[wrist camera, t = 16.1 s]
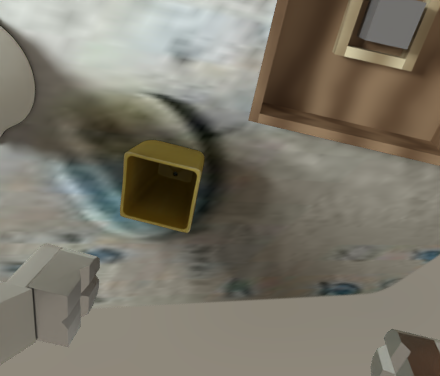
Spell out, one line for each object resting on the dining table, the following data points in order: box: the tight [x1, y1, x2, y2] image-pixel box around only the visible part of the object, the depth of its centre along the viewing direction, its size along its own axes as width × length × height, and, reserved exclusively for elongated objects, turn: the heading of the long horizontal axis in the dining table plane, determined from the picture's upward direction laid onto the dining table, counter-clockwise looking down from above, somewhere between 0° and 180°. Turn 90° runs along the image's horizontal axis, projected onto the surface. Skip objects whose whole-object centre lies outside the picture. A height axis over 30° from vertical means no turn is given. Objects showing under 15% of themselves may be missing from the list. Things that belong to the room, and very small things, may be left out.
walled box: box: [249, 0, 440, 166], centre depth 35 cm, size 22×24×6 cm
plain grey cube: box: [357, 0, 426, 49], centre depth 35 cm, size 4×4×4 cm
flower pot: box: [120, 140, 204, 233], centre depth 45 cm, size 9×9×9 cm
